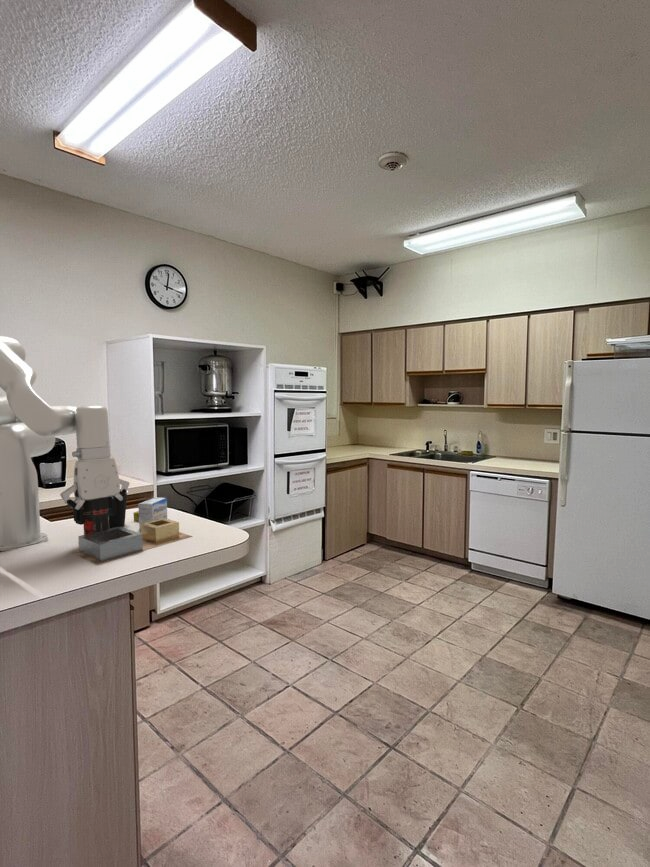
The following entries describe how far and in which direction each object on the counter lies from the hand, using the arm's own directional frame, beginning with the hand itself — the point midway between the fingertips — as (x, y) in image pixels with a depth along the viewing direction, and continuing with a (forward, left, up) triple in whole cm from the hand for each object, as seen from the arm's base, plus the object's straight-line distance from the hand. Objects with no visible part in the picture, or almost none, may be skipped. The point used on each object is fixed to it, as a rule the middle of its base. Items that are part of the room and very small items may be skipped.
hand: (98, 519), depth 121 cm
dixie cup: (-11, +10, -7) cm, 16 cm away
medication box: (-12, +22, -7) cm, 26 cm away
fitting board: (+9, +5, -7) cm, 13 cm away
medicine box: (-2, +17, -7) cm, 18 cm away
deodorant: (-1, 0, -7) cm, 7 cm away
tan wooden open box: (+9, +12, -6) cm, 16 cm away
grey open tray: (+9, -2, -6) cm, 11 cm away
